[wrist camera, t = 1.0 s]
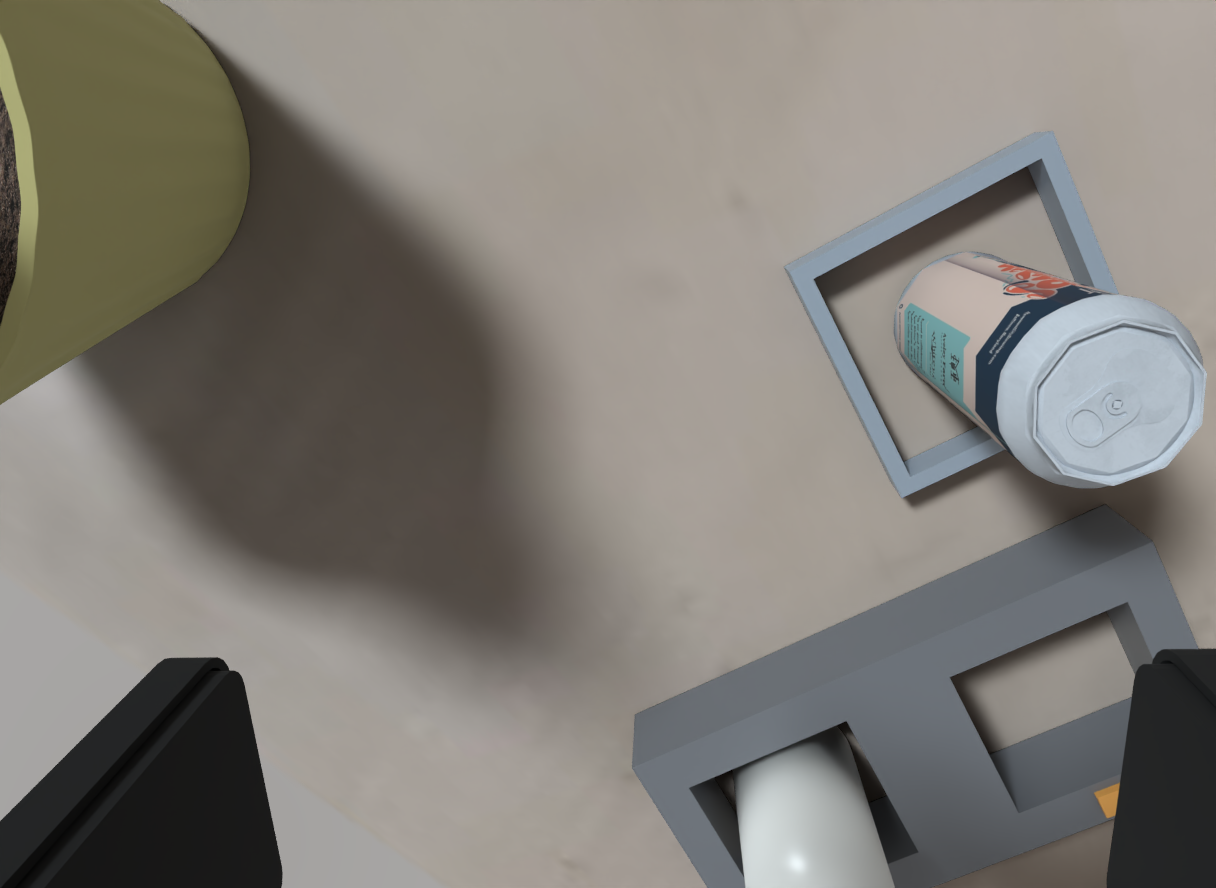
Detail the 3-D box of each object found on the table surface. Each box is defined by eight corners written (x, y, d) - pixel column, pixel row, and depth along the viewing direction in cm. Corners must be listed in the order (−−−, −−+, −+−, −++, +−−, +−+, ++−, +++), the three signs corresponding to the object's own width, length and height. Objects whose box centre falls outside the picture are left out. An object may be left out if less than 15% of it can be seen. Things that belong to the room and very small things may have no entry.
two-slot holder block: (1105, 504, 34) (1231, 602, 27) (1195, 712, 37) (1335, 857, 29) (634, 714, 38) (627, 853, 30) (743, 890, 40) (762, 1060, 33)
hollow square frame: (1034, 132, 31) (1053, 131, 29) (1132, 370, 33) (1153, 379, 31) (783, 266, 32) (789, 271, 31) (891, 484, 34) (901, 498, 33)
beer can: (1055, 325, 32) (1269, 416, 21) (943, 410, 34) (1087, 540, 22) (975, 220, 32) (1153, 255, 20) (862, 312, 33) (970, 394, 21)
